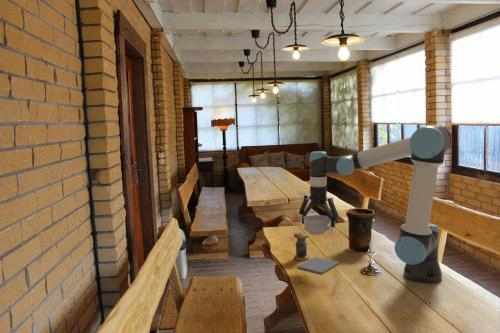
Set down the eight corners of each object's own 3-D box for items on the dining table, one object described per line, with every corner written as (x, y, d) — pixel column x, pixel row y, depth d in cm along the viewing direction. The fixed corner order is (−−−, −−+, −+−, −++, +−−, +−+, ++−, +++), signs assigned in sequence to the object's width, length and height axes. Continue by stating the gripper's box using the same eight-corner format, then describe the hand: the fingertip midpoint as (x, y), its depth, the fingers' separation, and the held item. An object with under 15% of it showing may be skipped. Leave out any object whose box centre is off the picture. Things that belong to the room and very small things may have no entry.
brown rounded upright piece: (311, 257, 208) (311, 234, 207) (303, 261, 203) (303, 237, 201) (299, 255, 213) (299, 231, 211) (291, 258, 207) (291, 234, 206)
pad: (339, 263, 199) (339, 262, 199) (322, 274, 187) (322, 272, 187) (315, 258, 207) (315, 256, 207) (297, 267, 195) (297, 266, 195)
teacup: (301, 235, 192) (301, 218, 191) (307, 229, 202) (307, 213, 201) (332, 238, 187) (332, 220, 186) (337, 231, 197) (337, 215, 196)
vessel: (363, 242, 231) (364, 206, 228) (379, 250, 217) (380, 212, 214) (340, 245, 226) (340, 209, 223) (355, 254, 213) (355, 215, 210)
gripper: (347, 186, 188) (346, 234, 190) (299, 182, 203) (300, 225, 206) (338, 189, 182) (338, 238, 184) (291, 184, 197) (291, 229, 200)
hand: (318, 231), depth 195 cm, fingers closed on teacup, 12 cm apart
